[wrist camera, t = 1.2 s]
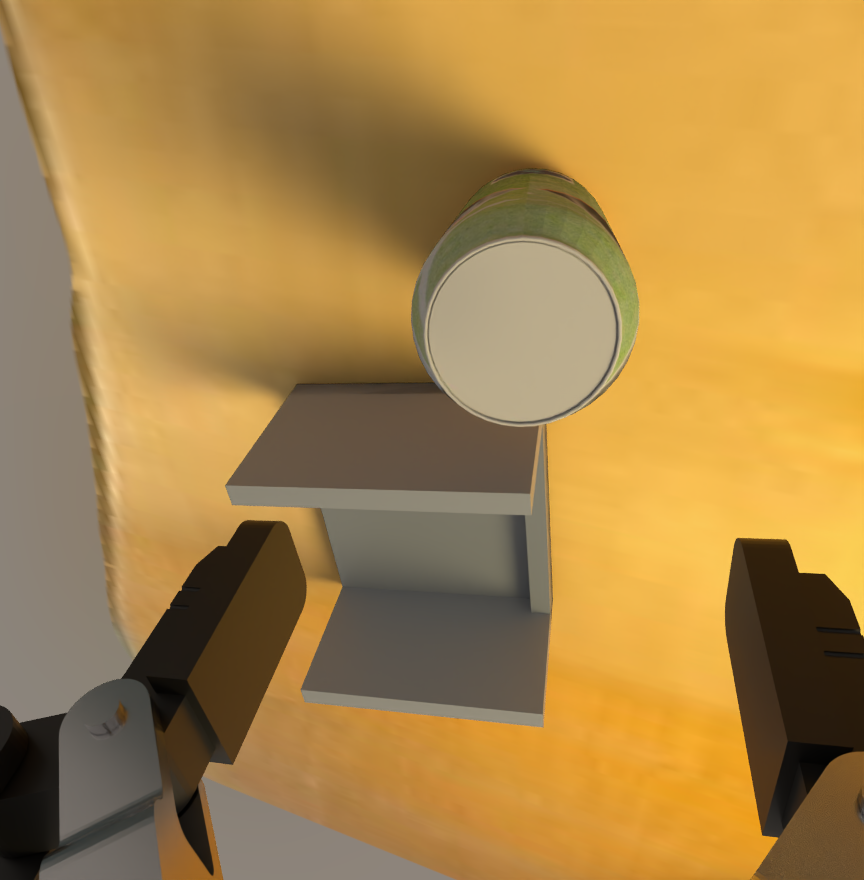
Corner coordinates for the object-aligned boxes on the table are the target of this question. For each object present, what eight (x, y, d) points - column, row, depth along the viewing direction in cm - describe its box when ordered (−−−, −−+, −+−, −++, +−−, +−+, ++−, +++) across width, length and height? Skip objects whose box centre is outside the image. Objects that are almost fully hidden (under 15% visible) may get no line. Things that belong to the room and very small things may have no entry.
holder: (296, 384, 33) (224, 485, 27) (544, 381, 31) (530, 494, 24) (351, 586, 41) (305, 702, 35) (552, 598, 38) (543, 727, 32)
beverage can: (447, 296, 29) (373, 461, 20) (475, 110, 25) (398, 206, 15) (593, 326, 29) (590, 511, 19) (648, 141, 24) (680, 261, 15)
